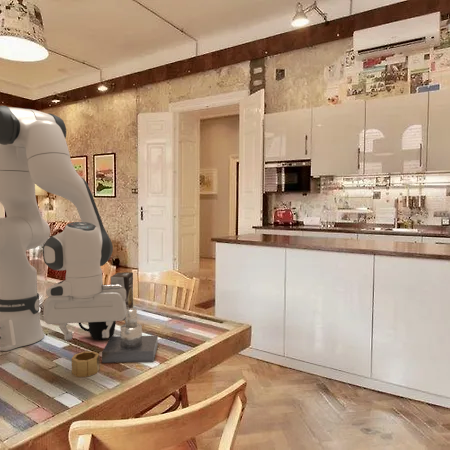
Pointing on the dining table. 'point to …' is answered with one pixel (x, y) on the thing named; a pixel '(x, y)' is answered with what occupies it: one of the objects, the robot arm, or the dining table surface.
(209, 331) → the dining table surface
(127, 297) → the coffee box
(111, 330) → the mug
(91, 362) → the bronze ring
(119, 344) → the grey plate with knob
